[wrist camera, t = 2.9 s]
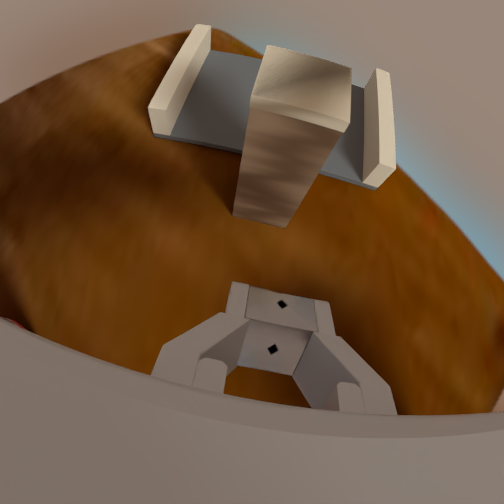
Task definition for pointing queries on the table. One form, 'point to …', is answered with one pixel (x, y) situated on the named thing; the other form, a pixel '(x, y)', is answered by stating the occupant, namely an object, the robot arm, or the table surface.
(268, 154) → the walnut block
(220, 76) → the rubber mat with end rails
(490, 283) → the table surface
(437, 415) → the robot arm
